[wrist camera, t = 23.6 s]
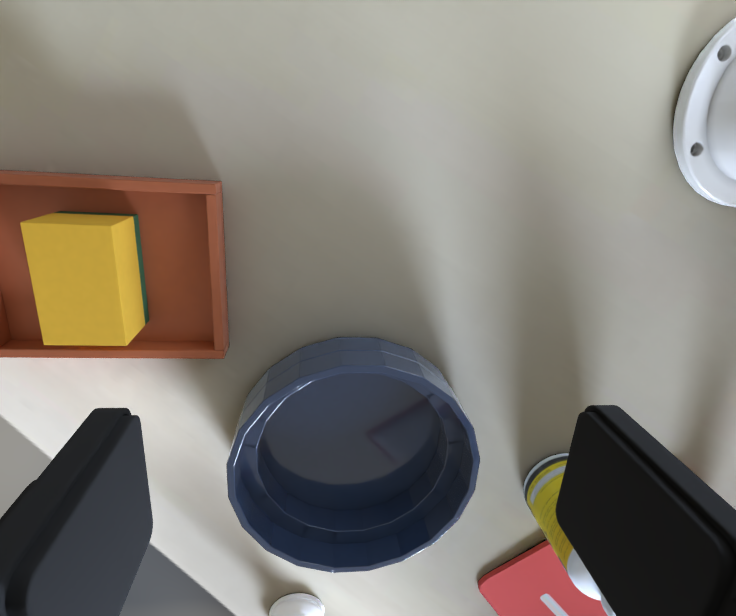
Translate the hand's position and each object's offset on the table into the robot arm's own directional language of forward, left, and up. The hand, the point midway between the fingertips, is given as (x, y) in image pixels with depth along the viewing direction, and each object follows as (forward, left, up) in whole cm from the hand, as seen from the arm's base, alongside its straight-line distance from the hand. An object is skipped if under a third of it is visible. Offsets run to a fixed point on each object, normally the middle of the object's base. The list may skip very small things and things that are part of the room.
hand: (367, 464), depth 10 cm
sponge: (+2, -14, -22) cm, 26 cm away
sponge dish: (+2, -14, -22) cm, 26 cm away
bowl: (+15, +2, -22) cm, 27 cm away
